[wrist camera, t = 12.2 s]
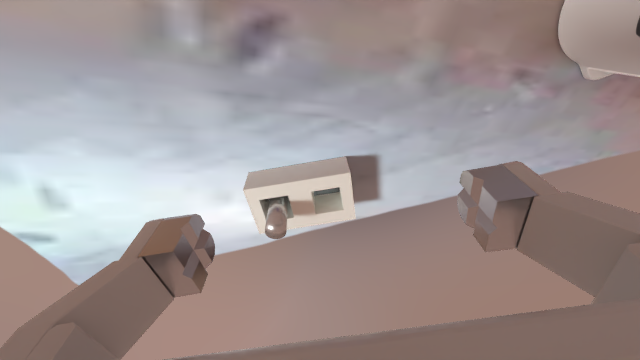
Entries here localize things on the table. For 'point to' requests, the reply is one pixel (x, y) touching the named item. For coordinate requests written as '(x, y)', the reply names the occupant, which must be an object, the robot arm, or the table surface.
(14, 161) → the table surface
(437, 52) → the table surface
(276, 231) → the peg
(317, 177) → the hole block
